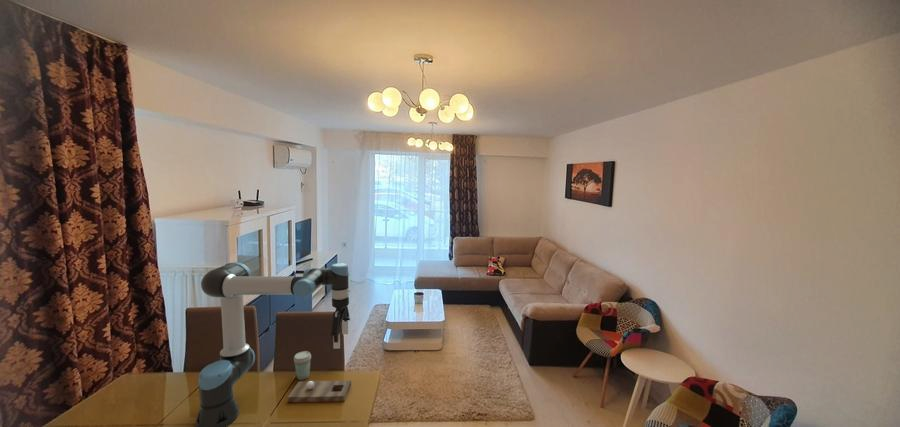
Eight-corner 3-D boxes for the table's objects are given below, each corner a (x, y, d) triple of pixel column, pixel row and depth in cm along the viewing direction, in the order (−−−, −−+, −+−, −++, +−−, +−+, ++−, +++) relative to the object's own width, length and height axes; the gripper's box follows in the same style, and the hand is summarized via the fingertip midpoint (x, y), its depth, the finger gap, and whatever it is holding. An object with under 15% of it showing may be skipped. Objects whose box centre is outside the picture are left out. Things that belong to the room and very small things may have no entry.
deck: (288, 402, 152) (287, 397, 151) (298, 386, 163) (298, 381, 163) (344, 401, 153) (344, 396, 152) (351, 385, 165) (351, 380, 164)
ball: (305, 391, 156) (304, 384, 155) (307, 386, 159) (307, 379, 159) (312, 390, 156) (312, 383, 156) (315, 386, 159) (315, 379, 159)
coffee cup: (305, 382, 166) (304, 360, 165) (290, 380, 168) (289, 358, 167) (315, 373, 175) (314, 351, 173) (301, 370, 176) (300, 349, 175)
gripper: (340, 307, 139) (341, 354, 141) (355, 288, 164) (355, 328, 166) (322, 307, 139) (323, 354, 141) (340, 288, 163) (341, 328, 165)
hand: (341, 340), depth 153 cm, fingers open, 13 cm apart
